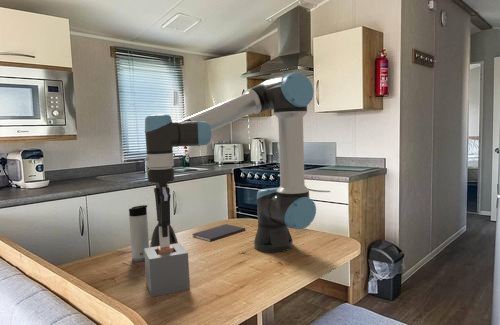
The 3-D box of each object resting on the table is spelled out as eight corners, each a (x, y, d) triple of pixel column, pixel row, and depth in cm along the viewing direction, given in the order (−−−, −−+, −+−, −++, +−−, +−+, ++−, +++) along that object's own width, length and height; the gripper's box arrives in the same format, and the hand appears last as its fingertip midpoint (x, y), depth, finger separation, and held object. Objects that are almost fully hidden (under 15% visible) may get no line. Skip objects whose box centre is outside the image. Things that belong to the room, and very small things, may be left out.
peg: (172, 276, 116) (170, 244, 115) (175, 280, 112) (173, 247, 111) (159, 278, 114) (157, 246, 113) (161, 283, 110) (159, 250, 110)
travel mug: (145, 262, 135) (142, 207, 133) (128, 261, 136) (125, 207, 134) (153, 256, 141) (150, 203, 139) (137, 255, 142) (134, 203, 141)
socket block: (181, 276, 120) (179, 242, 119) (189, 289, 110) (187, 252, 109) (146, 283, 116) (144, 248, 115) (151, 297, 106) (149, 259, 105)
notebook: (210, 242, 157) (245, 231, 173) (210, 239, 157) (245, 228, 173) (191, 237, 166) (226, 227, 181) (191, 234, 166) (226, 224, 181)
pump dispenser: (154, 271, 125) (151, 227, 124) (147, 262, 134) (145, 220, 133) (184, 265, 130) (181, 222, 129) (175, 257, 139) (173, 216, 138)
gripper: (144, 167, 114) (148, 242, 117) (150, 170, 103) (155, 255, 105) (169, 165, 117) (173, 239, 119) (178, 168, 105) (182, 250, 107)
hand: (164, 246), depth 112 cm, fingers closed
